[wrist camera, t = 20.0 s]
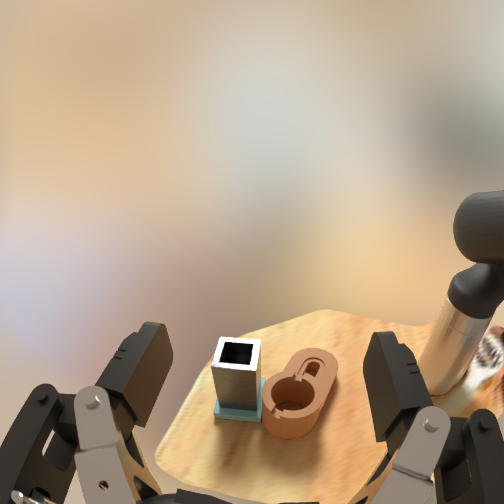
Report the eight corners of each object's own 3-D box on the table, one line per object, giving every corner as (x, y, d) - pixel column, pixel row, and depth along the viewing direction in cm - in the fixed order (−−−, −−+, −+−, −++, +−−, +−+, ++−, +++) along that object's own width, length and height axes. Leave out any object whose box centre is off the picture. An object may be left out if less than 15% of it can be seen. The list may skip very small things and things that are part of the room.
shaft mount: (265, 382, 42) (265, 357, 39) (260, 422, 34) (260, 399, 32) (224, 379, 42) (220, 354, 40) (214, 417, 35) (208, 394, 32)
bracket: (303, 446, 30) (310, 426, 27) (251, 426, 34) (250, 403, 31) (340, 365, 44) (348, 338, 41) (298, 353, 48) (302, 325, 45)
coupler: (260, 383, 40) (260, 339, 36) (256, 411, 35) (256, 370, 31) (226, 380, 41) (220, 336, 36) (219, 407, 36) (211, 366, 31)
